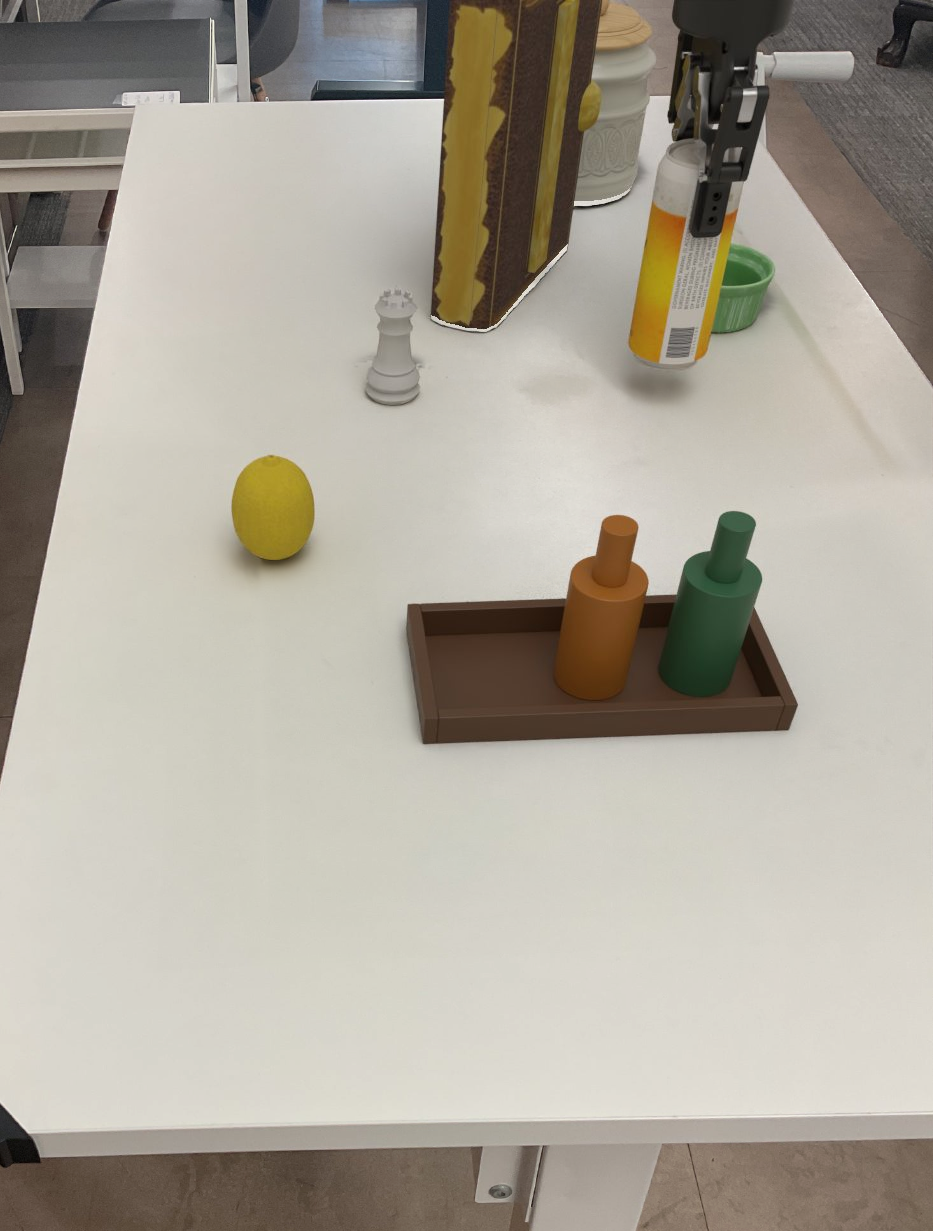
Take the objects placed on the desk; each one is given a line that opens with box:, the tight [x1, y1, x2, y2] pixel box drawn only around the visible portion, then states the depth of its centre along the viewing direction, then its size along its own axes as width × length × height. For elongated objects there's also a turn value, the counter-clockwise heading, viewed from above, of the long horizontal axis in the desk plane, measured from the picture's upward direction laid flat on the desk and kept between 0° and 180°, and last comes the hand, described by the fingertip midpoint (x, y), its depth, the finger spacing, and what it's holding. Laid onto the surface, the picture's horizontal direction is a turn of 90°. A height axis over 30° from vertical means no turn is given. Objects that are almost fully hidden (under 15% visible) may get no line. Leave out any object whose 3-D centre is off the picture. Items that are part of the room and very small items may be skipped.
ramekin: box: [711, 242, 776, 334], centre depth 108 cm, size 9×9×4 cm
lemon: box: [230, 454, 316, 561], centre depth 83 cm, size 6×6×8 cm
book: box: [430, 0, 602, 329], centre depth 106 cm, size 22×8×25 cm, turn 152°
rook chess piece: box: [364, 287, 421, 406], centre depth 98 cm, size 4×4×8 cm
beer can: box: [627, 138, 745, 372], centre depth 93 cm, size 6×6×15 cm
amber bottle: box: [554, 514, 650, 701], centre depth 73 cm, size 4×4×11 cm
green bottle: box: [658, 510, 763, 697], centre depth 73 cm, size 4×4×11 cm
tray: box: [405, 593, 799, 745], centre depth 76 cm, size 22×11×3 cm, turn 93°
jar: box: [574, 0, 657, 201], centre depth 123 cm, size 13×13×18 cm
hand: (692, 215), depth 91 cm, fingers closed on beer can, 6 cm apart
